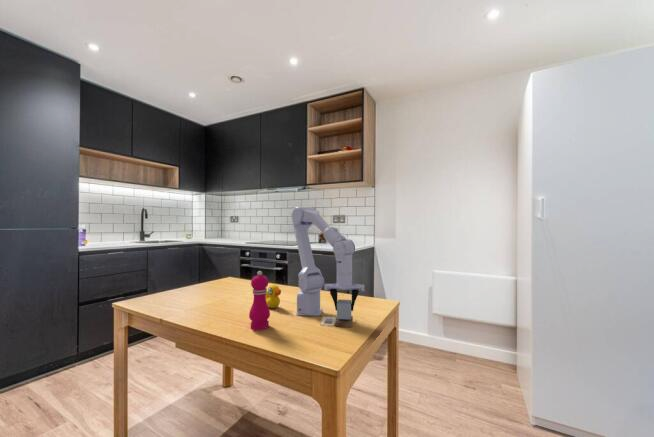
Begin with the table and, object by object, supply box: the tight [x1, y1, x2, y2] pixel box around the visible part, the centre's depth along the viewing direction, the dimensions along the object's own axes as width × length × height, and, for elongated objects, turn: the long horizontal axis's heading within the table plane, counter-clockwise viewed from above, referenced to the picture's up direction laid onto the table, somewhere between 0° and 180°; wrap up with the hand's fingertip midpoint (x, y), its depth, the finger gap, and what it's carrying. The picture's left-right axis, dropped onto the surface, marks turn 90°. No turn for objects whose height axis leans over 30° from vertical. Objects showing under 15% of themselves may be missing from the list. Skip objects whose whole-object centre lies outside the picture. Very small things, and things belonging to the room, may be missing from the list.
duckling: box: [265, 284, 282, 309], centre depth 120 cm, size 11×5×10 cm, turn 44°
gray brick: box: [336, 298, 352, 319], centre depth 100 cm, size 5×5×6 cm
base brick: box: [335, 315, 354, 328], centre depth 101 cm, size 6×6×2 cm
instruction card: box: [320, 316, 337, 327], centre depth 103 cm, size 5×8×1 cm, turn 174°
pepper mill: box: [248, 270, 271, 331], centre depth 98 cm, size 7×7×20 cm
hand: (344, 309), depth 101 cm, fingers closed on gray brick, 5 cm apart
